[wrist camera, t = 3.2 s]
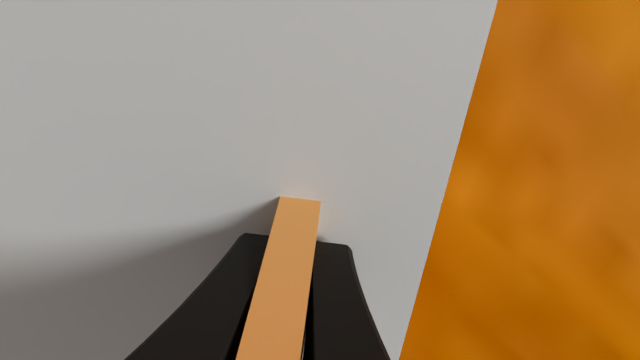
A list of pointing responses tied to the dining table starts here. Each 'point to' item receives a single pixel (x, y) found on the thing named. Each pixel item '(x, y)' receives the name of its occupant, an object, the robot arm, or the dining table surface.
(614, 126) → the dining table surface
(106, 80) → the carton lid
